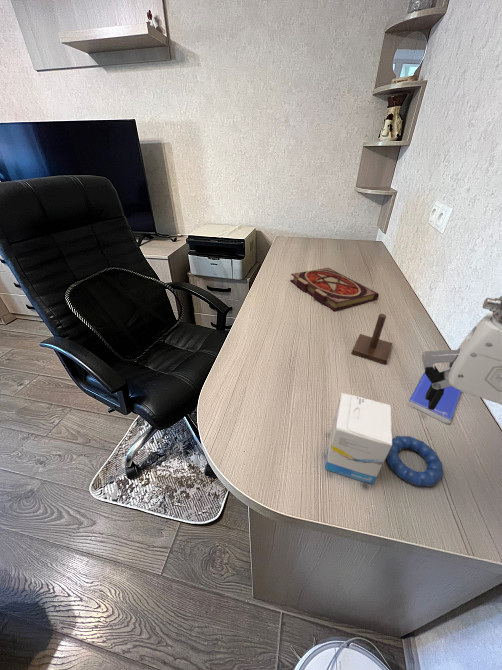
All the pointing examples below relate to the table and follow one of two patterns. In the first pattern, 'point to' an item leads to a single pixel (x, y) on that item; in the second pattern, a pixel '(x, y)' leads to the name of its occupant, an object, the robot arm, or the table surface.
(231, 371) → the table surface
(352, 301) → the book
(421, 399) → the hard drive
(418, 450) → the blue teething ring
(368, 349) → the stand
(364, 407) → the ink box
